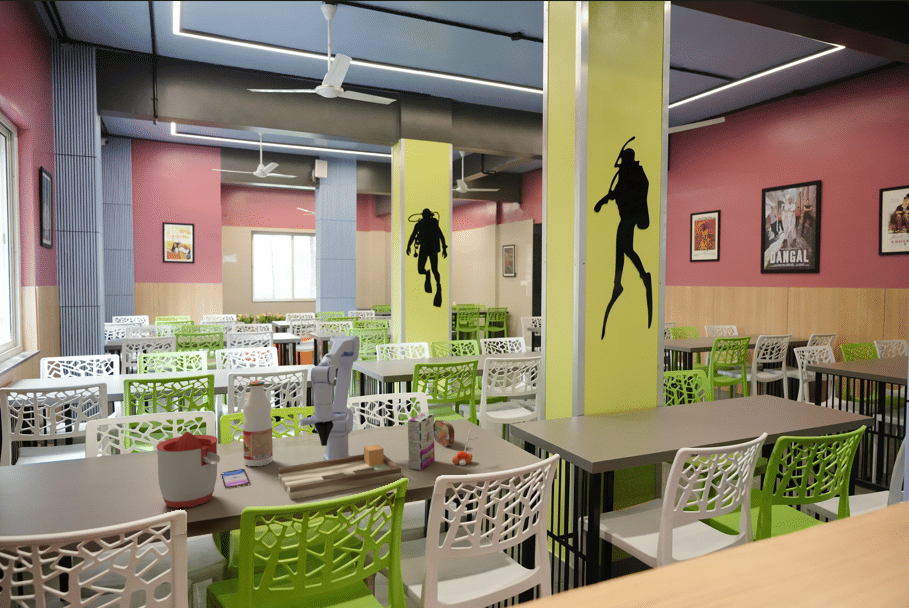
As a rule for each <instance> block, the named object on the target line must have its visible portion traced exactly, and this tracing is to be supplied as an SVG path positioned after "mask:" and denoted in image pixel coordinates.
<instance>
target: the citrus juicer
mask: <svg viewBox="0 0 909 608" xmlns="http://www.w3.org/2000/svg"><path fill="white" fill-rule="evenodd" d="M217 442H218V437H216V436H214V435H210V434H193V433H192V432H190V431H185V432H184V433H183V434H182V435H181V436H177V437H171V438H169V439H165V440H163V441H161V442H159V443H158V444H156V447H155V448H156V450H157V451H156V452H157V475H158V476H157V477H158V485H159V490H160V493H161V495H162V499H163V501H164V503H165V504H166V506H167V507H169V508H172V507H173V509H180V508H179V507H192V506H194V507H197V506H199V504H200V505H202V504H205V503H207V502H208V501H210V500H211V499H212V496H213V494H214V491H215V487H216V483H217V477H218V463H219V462H220V461H221V458H220V455H218V450H217V449H218V448H217V445H218V444H217ZM192 508H193V507H192Z"/></svg>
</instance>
